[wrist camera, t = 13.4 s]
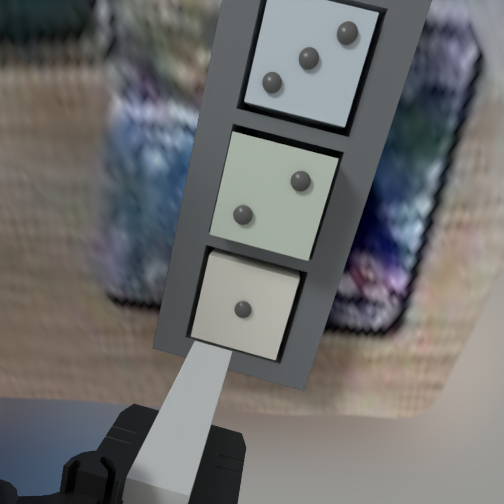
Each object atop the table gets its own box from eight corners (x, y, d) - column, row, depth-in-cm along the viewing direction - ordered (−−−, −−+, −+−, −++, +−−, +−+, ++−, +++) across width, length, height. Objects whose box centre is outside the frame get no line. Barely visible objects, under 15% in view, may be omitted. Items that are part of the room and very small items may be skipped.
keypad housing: (167, 328, 29) (152, 348, 26) (242, -35, 22) (234, -62, 19) (303, 366, 28) (303, 391, 25) (418, 7, 22) (436, -15, 19)
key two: (221, 222, 25) (208, 235, 21) (241, 133, 23) (231, 131, 20) (306, 245, 24) (308, 261, 21) (332, 157, 23) (339, 158, 19)
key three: (251, 107, 24) (243, 100, 21) (274, 9, 23) (270, -16, 19) (338, 129, 24) (345, 126, 20) (367, 32, 22) (379, 11, 19)
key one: (203, 314, 28) (189, 337, 24) (220, 241, 26) (208, 255, 23) (278, 335, 28) (275, 361, 24) (299, 263, 26) (299, 280, 23)
